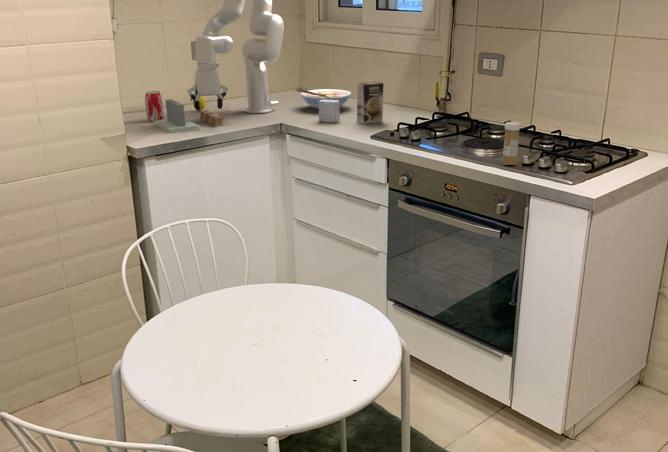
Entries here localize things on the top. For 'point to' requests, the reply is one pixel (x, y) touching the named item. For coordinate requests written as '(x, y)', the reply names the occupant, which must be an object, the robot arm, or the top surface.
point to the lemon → (201, 101)
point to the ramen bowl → (324, 96)
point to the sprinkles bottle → (511, 142)
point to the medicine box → (329, 111)
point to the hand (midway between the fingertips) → (208, 109)
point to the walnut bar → (211, 118)
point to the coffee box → (370, 102)
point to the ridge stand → (176, 118)
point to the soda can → (154, 105)
